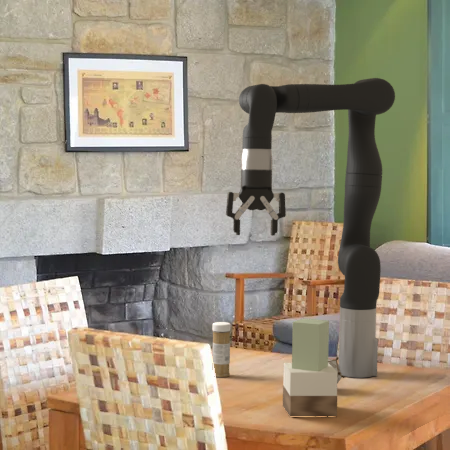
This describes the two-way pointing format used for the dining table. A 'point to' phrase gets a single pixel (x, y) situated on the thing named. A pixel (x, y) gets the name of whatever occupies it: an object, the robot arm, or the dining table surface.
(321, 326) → the sage block
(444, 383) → the dining table surface
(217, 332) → the sprinkles bottle
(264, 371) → the dining table surface
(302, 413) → the tower bottom
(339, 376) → the game die
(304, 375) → the tower top
